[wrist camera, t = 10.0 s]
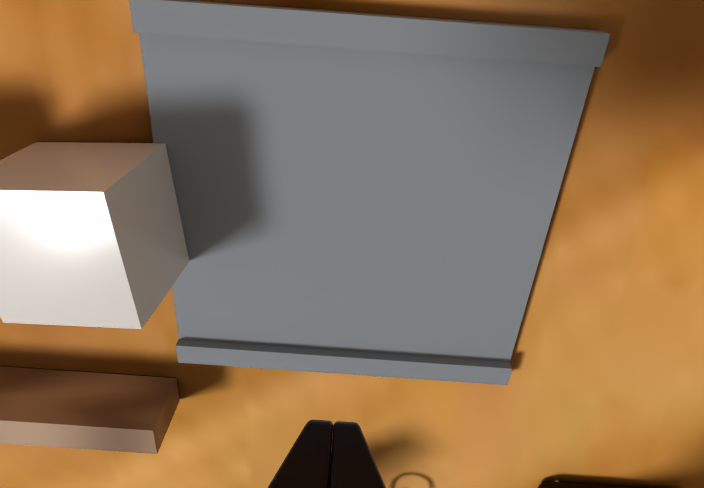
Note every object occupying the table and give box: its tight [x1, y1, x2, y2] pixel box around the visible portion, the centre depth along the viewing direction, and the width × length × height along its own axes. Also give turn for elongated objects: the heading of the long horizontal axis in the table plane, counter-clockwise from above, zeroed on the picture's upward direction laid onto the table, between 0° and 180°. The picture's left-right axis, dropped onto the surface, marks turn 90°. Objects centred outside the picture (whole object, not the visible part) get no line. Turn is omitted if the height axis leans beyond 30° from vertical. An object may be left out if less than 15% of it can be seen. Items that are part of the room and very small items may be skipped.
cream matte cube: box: [0, 142, 190, 329], centre depth 15 cm, size 4×4×4 cm
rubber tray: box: [129, 0, 610, 385], centre depth 16 cm, size 12×12×1 cm
